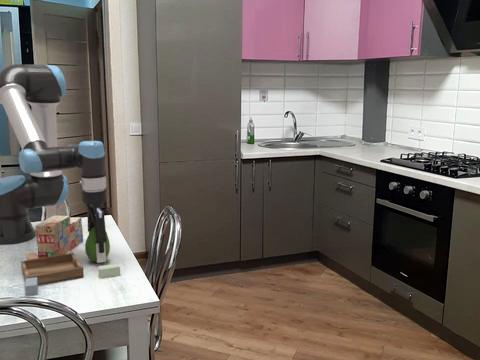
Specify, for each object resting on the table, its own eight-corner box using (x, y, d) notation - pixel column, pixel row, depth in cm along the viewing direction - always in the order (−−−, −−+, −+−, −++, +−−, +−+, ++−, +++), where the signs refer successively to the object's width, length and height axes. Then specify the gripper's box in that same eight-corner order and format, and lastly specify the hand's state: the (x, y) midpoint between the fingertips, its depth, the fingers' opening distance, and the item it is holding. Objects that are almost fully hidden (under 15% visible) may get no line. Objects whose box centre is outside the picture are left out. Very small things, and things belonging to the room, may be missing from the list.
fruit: (116, 260, 163) (114, 225, 160) (96, 267, 156) (94, 230, 154) (100, 255, 167) (98, 221, 165) (80, 262, 161) (78, 226, 159)
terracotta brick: (27, 262, 161) (26, 254, 161) (36, 261, 163) (36, 252, 162) (29, 268, 156) (28, 259, 156) (39, 266, 158) (38, 257, 157)
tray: (21, 270, 154) (21, 261, 154) (73, 261, 162) (72, 253, 161) (27, 287, 141) (26, 277, 140) (83, 277, 148) (83, 267, 148)
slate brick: (26, 288, 141) (25, 278, 140) (38, 286, 142) (37, 277, 141) (25, 296, 135) (25, 286, 134) (37, 295, 136) (36, 284, 136)
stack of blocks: (67, 241, 184) (65, 209, 182) (83, 241, 183) (81, 209, 181) (38, 260, 163) (35, 224, 161) (56, 261, 162) (53, 225, 160)
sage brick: (100, 279, 147) (99, 269, 147) (98, 275, 150) (98, 266, 149) (120, 276, 150) (119, 266, 149) (118, 272, 152) (118, 263, 152)
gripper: (75, 185, 164) (79, 250, 169) (89, 197, 147) (94, 269, 151) (98, 183, 168) (102, 247, 172) (114, 194, 150) (118, 265, 154)
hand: (98, 257), depth 161 cm, fingers closed on fruit, 8 cm apart
